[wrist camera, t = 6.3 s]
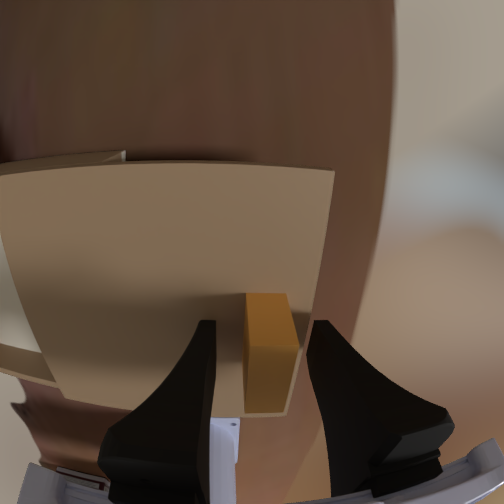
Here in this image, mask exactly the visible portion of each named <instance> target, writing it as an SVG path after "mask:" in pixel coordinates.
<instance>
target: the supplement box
mask: <svg viewBox="0 0 504 504" xmlns="http://www.w3.org/2000/svg"><path fill="white" fill-rule="evenodd" d="M56 472H57V473H59V474H60V475H62V476H63V477H64V478H65V480H66V481H69V482H72V483H75V484H79V485H82V486H86V487H90V488H93V489H97V490H101V491H106V492H109V488H110V482H109V481H108V480H106V479H105V478H102V477H97V476H93V475H89V474H84V473H80V472H76V471H72V470H69V469H65V468H62V467H57V469H56Z"/></svg>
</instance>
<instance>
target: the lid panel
mask: <svg viewBox="0 0 504 504" xmlns="http://www.w3.org/2000/svg"><path fill="white" fill-rule="evenodd" d="M334 175H335V171H334V170H332V169H331V168H327V167H317V166H306V165H293V164H279V163H263V162H242V161H208V160H158V161H124V162H105V163H89V164H76V165H64V166H54V167H44V168H35V169H27V170H19V171H12V172H5V173H0V235H1V239H2V243H3V247H4V251H5V255H6V258H7V262H8V265H9V269H10V272H11V275H12V278H13V281H14V285H15V288H16V290H17V293H18V296H19V299H20V302H21V305H22V307H23V310H24V313H25V315H26V318H27V320H28V323H29V325H30V328H31V330H32V332H33V335H34V337H35V339H36V342H37V344H38V346H39V348H40V350H41V352H42V355H43V357H44V359H45V361H46V363H47V365H48V367H49V369H50V371H51V373H52V375H53V377H54V379H55V380H56V382H57V384H58V386H59V388H60V390H61V391H62V393H63V395H64V397H65V398H67V399H71V400H76V401H81V402H86V403H91V404H96V405H102V406H107V407H114V408H120V409H127V410H134V409H136V408H137V407H138V406H139V405H140V404H141V403H143V402H144V401H145V400H146V399H147V398H148V397H149V396H150V395H151V394H152V393H153V392H154V391H155V390H156V389H157V388H158V386H159V385H160V384H161V383H162V382H163V381H164V379H165V378H166V377H167V376H168V375H169V373H170V372H171V371H172V369H173V368H174V366H175V365H176V363H177V362H178V360H179V359H180V358H181V356H182V354H183V353H184V351H185V349H186V348H187V346H188V344H189V342H190V341H191V339H192V337H193V335H194V333H195V330H196V328H197V325H198V322H199V321H200V320H216V347H217V361H216V381H215V389H214V396H213V404H212V412H211V417H277V416H286V414H287V411H288V407H289V403H290V399H291V396H292V392H293V388H294V384H295V380H296V376H297V372H298V368H299V364H300V359H301V355H302V351H303V347H304V342H305V338H306V333H307V329H308V324H309V319H310V315H311V310H312V305H313V300H314V295H315V290H316V285H317V280H318V275H319V269H320V264H321V258H322V253H323V247H324V241H325V235H326V229H327V223H328V216H329V210H330V203H331V196H332V189H333V182H334Z"/></svg>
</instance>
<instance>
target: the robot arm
mask: <svg viewBox="0 0 504 504" xmlns="http://www.w3.org/2000/svg"><path fill="white" fill-rule="evenodd" d="M306 356H307V363H308V369H309V375H310V379H311V382H312V385H313V389H314V392H315V396H316V399H317V402H318V406H319V409H320V412H321V416H322V420H323V425H324V431H325V437H326V443H327V451H328V459H329V469H330V482H331V498H326V499H319V500H313V501H305V502H296V503H287V504H474V503H476V502H478V501H479V500H481V499H483V498H484V497H485V496H487V495H489V494H490V493H491V492H493V491H494V490H496V489H497V488H499V487H500V486H501V485H502V484H504V456H503V454H502V452H501V450H500V448H499V446H498V444H497V442H496V440H495V438H491V439H489V440H488V441H485V442H484V443H481V444H479V445H478V446H476V447H475V448H473V449H472V450H471V451H470V452H469V453H468V454H467V456H465V457H463V458H460V459H458V460H456V461H453V462H451V463H449V464H446V465H444V466H441V465H440V462H439V460H438V457H440V455H441V454H440V451H439V449H438V448H439V447H440V446H441V445H442V444H443V442H445V441H446V440H447V439H448V438H449V436H450V435H451V434H452V432H453V430H454V428H455V425H454V423H453V421H452V419H451V417H450V415H449V413H448V411H447V410H446V408H443V407H441V406H438V405H436V404H433V403H431V402H428V401H426V400H424V399H422V398H420V397H418V396H416V395H413V394H412V393H410V392H409V391H407V390H405V389H403V388H402V387H400V386H399V385H397V384H396V383H394V382H392V381H391V380H389V379H388V378H387V377H386V376H384V375H383V374H382V373H380V372H379V371H378V370H377V369H375V368H374V367H373V366H372V365H371V364H370V363H368V362H367V361H366V360H365V359H364V358H363V357H362V356H361V355H360V354H359V353H358V352H357V351H356V350H355V349H354V348H353V347H352V346H351V345H350V344H349V343H348V342H347V341H346V340H345V339H344V337H343V336H342V335H341V334H340V333H339V332H338V331H337V330H336V329H335V327H334V326H333V325H332V324H331V323H330V322H329V321H328V320H314V323H313V328H312V332H311V336H310V341H309V345H308V349H307V353H306ZM216 361H217V347H216V320H200V321H199V322H198V325H197V328H196V330H195V333H194V335H193V337H192V339H191V341H190V342H189V344H188V346H187V348H186V349H185V351H184V353H183V354H182V356H181V358H180V359H179V360H178V362H177V363H176V365H175V366H174V368H173V369H172V371H171V372H170V373H169V375H168V376H167V377H166V378H165V379H164V381H163V382H162V383H161V384H160V385H159V386H158V388H157V389H156V390H155V391H154V392H153V393H152V394H151V395H150V396H149V397H148V398H147V399H146V400H145V401H144V402H143V403H141V404H140V405H139V406H138V407H137V408H136V409H134V410H133V411H132V412H131V413H130V414H128V415H127V416H126V417H124V418H123V419H121V420H120V421H119V422H117V423H116V424H114V425H113V426H111V427H110V428H109V429H108V431H107V433H106V435H105V437H104V439H103V442H102V444H101V447H100V452H99V456H98V461H97V464H98V465H99V467H100V469H101V470H102V471H103V472H104V473H105V474H106V476H107V477H108V478H109V479H110V480H111V483H110V488H109V492H106V491H101V490H97V489H93V488H90V487H86V486H82V485H79V484H75V483H72V482H69V481H66V480H65V478H64V477H63V476H62V475H60V474H59V473H57V472H55V471H53V470H50V469H47V468H44V467H42V466H39V465H36V464H34V463H29V465H28V468H27V471H26V474H25V478H24V481H23V484H22V487H21V491H20V494H19V498H18V502H17V504H236V485H235V463H237V458H238V442H239V426H240V417H211V412H212V404H213V396H214V389H215V381H216Z"/></svg>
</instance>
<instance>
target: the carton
mask: <svg viewBox="0 0 504 504" xmlns="http://www.w3.org/2000/svg"><path fill="white" fill-rule="evenodd" d="M124 161H126V150H118V151H102V152H89V153H78V154H68V155H58V156H50V157H42V158H34V159H27V160H20V161H14V162H8V163H2V164H0V173H5V172H12V171H19V170H27V169H35V168H44V167H54V166H64V165H76V164H89V163H105V162H124ZM0 372H2V373H5V374H8V375H12V376H15V377H18V378H22V379H25V380H29V381H32V382H36V383H40V384H44V385H48V386H52V387H56V388H59V386H58V384H57V382H56V380H55V379H54V377H53V375H52V373H51V371H50V369H49V367H48V365H47V363H46V361H45V359H44V357H43V355H42V352H41V350H40V348H39V346H38V344H37V342H36V339H35V337H34V335H33V332H32V330H31V328H30V325H29V323H28V320H27V318H26V315H25V313H24V310H23V307H22V305H21V302H20V299H19V296H18V293H17V290H16V288H15V285H14V281H13V278H12V275H11V272H10V269H9V265H8V262H7V258H6V255H5V251H4V247H3V243H2V239H1V235H0Z"/></svg>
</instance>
